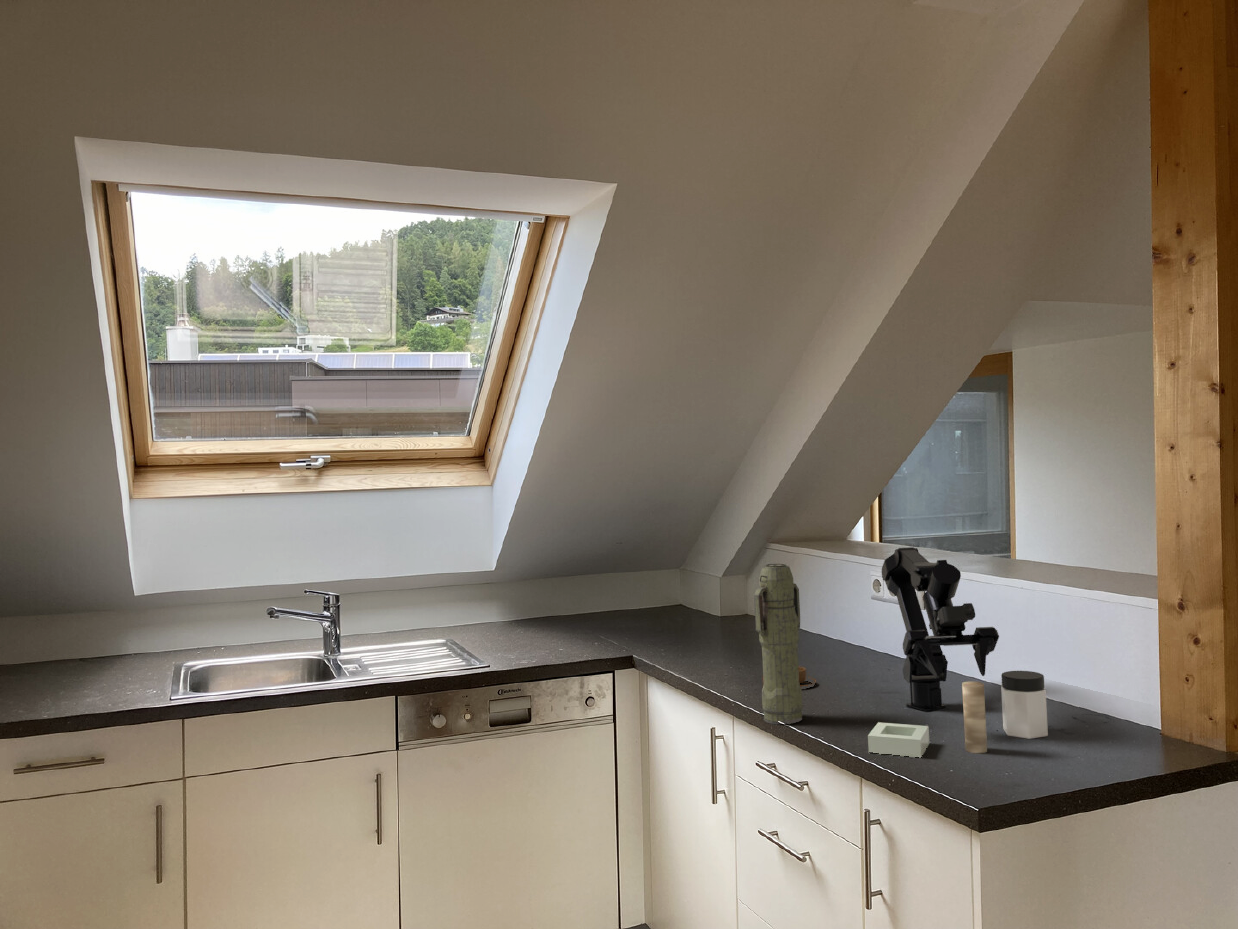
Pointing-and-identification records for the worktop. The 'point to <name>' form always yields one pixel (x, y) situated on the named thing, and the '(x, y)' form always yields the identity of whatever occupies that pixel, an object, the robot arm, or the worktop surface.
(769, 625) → the thermos
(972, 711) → the dowel
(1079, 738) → the worktop surface
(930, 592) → the robot arm
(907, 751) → the pale green square holder
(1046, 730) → the jar
